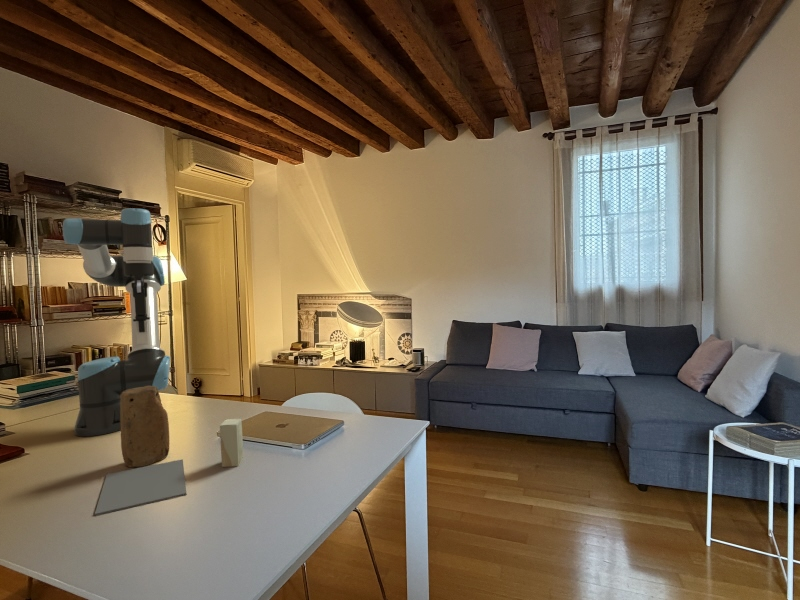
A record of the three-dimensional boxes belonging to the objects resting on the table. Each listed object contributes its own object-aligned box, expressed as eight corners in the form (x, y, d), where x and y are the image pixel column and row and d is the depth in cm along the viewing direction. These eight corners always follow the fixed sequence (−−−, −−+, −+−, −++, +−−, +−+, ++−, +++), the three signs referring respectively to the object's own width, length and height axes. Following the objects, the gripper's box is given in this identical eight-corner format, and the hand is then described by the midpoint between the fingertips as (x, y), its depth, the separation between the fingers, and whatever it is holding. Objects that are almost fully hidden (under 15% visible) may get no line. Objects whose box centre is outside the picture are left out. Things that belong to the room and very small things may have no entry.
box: (227, 459, 118) (225, 418, 117) (244, 458, 118) (242, 417, 118) (221, 467, 113) (219, 425, 112) (238, 466, 113) (236, 424, 112)
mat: (107, 475, 110) (106, 474, 110) (182, 460, 118) (182, 459, 118) (94, 515, 90) (94, 513, 90) (186, 494, 98) (186, 493, 98)
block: (125, 471, 112) (121, 393, 111) (121, 462, 118) (116, 388, 117) (172, 459, 119) (168, 386, 118) (166, 451, 125) (162, 382, 124)
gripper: (125, 264, 133) (129, 341, 134) (120, 261, 120) (125, 347, 121) (153, 263, 137) (157, 338, 138) (152, 261, 123) (157, 344, 124)
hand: (142, 342), depth 129 cm, fingers open, 3 cm apart
